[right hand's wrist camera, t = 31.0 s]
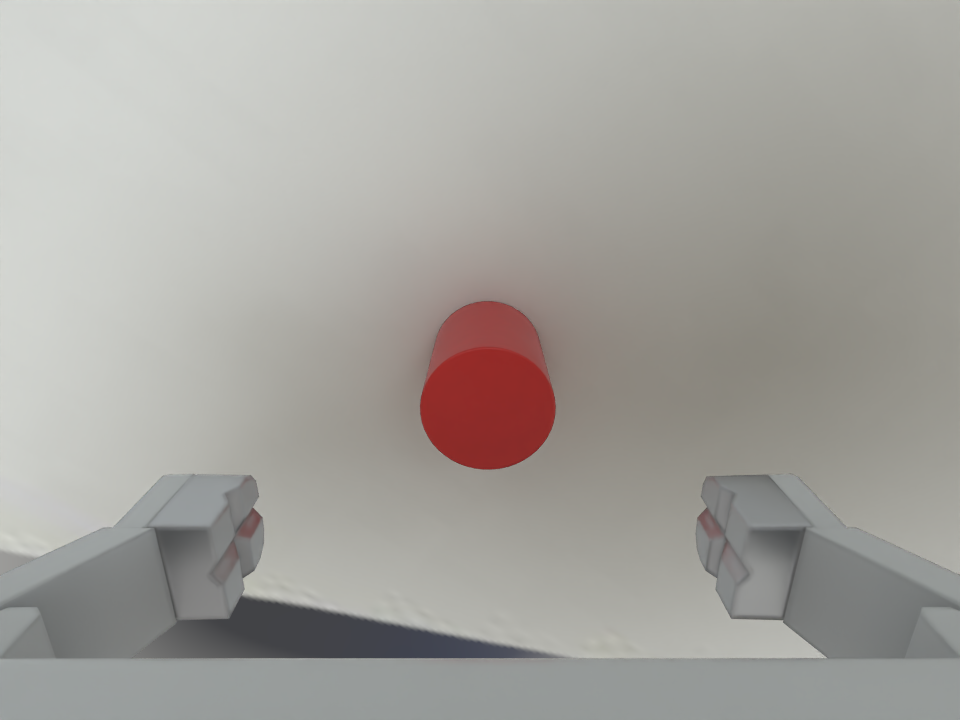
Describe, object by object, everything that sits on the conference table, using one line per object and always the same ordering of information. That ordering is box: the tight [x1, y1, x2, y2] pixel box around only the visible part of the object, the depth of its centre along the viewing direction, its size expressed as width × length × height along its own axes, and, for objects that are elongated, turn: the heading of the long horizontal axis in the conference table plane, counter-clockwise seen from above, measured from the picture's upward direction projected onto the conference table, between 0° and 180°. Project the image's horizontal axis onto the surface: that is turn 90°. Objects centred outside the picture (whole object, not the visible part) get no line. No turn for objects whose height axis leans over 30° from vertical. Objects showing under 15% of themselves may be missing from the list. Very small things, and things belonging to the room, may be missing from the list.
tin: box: [420, 301, 556, 469], centre depth 17 cm, size 4×4×4 cm
